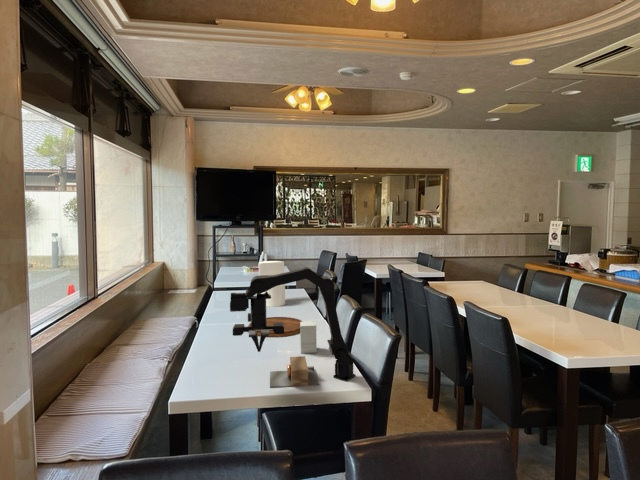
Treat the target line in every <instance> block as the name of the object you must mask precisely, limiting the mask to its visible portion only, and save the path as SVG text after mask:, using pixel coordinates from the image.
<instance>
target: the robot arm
mask: <svg viewBox="0 0 640 480" xmlns="http://www.w3.org/2000/svg"><path fill="white" fill-rule="evenodd" d="M303 280H308V281H309V282H310V283H312V284H313V285H315V286H316V287H317V289H318V292H319V294H320V295H321V298H322V300H323V303H324V308H325V313H326V318H327V322H328V323H327V324H328V327H329V331H330V339H326V340H327V343H328V350H329V352H330V354H331V355H332V356H333V357H334V358H335V363H334V375H333V378H335V379H338V380H341V381H345V382H348V381H349V380H351V379H353V378H355V377H356V374H355V373H354V362H355V358H354V356H353V355H352V354H351V353H350V351H349V349H348V346H347V345H346V342H345V339H344V338H343V335H342V332H341V327H340V322H339V318H338V313H337V307H336V302H335V297H336V291H335V290H336V287H335V283H334V281H333V280H332V279H331V278H330V277H328V276H327V275H323V276H322V275H321V274H319V273H318V272H316V271H314V270H312V269H311V268H310V267H308V266H304V267H303V268H299V269H295V270H290V271H287V272H284V273H282V274H277V275H262V276H259V275H255V276H253V277H252V278H251V280H250V283H249V286H248V288H247V289H246V290H245V292H230V302H229V312H232V313H233V312H234V313H235V312H236V313H237V312H246V311H247V310H248V309H249V308H250V313H249V312H248V313H247V322H248V323H249V322H250V323H251V327H248V326H245V323H237V324H234V325H233V327H232V336H234V337H235V336H237V337H239V336H242V335H244V333H248V332H249V333H248V338H250V339H252V341H253V343H254V345H255V347H256V350H257V352H258V353H260V352H261V351H262V347H263V345H264V341H265V339H267V338H269V337H268V336H269V331H274V333H275V334H284V324H283V323H273V324H274V326H267V318H268V317H267V307H266V299H271V295H270V294H268V292H267V291H268V290H270V289H272V288H273V287H276V286H279V285H283V284H285V285H287V284H291V283H295V282H299V281H303ZM265 291H266V292H265ZM263 292H265V293H264V294H261V293H263ZM249 301H250V303H249ZM249 305H250V307H249ZM257 331H261V336H258V335H257Z"/></svg>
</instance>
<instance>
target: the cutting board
mask: <svg viewBox="0 0 640 480" xmlns="http://www.w3.org/2000/svg"><path fill="white" fill-rule="evenodd" d="M266 318H267V326H274V324H273V323H283V324H284V334H275V333H274V331H269V336H268V337H267V338H285V337H286V338H287V337H291V336H296V335H300V322H304V321H303V320H300V319H299V318H296V317H290V316H289V317H288V316H271V317H270V316H269V317H266ZM247 327H251V322H250V323H249V324H248V325H247ZM247 333H248V334H249V332H247ZM257 335H258V337H260V336H261V331H257Z"/></svg>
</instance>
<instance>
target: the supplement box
mask: <svg viewBox="0 0 640 480" xmlns="http://www.w3.org/2000/svg"><path fill="white" fill-rule="evenodd" d="M316 323H317V321H303V322H300V333H299V335H300V336H299V341H300V353H301V354H311V353H312V354H313V353H315V354H316V353H317V352H318V351H317V324H316Z"/></svg>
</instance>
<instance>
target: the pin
mask: <svg viewBox="0 0 640 480" xmlns="http://www.w3.org/2000/svg"><path fill="white" fill-rule="evenodd" d="M307 367H308V374H314V369H315V366H307ZM286 371H287V377H288V378H289V377H291V365H290V364H286Z"/></svg>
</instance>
